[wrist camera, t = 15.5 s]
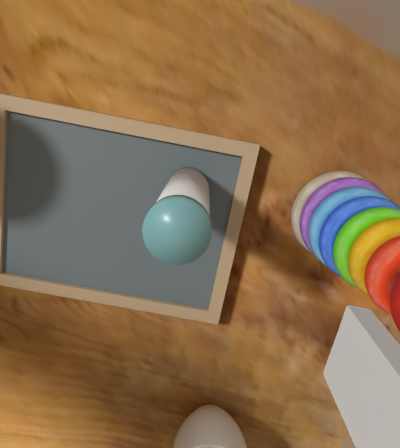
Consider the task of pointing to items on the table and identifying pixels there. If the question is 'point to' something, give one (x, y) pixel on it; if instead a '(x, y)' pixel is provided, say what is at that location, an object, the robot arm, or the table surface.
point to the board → (111, 207)
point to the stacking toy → (353, 234)
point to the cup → (209, 430)
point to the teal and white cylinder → (180, 219)
